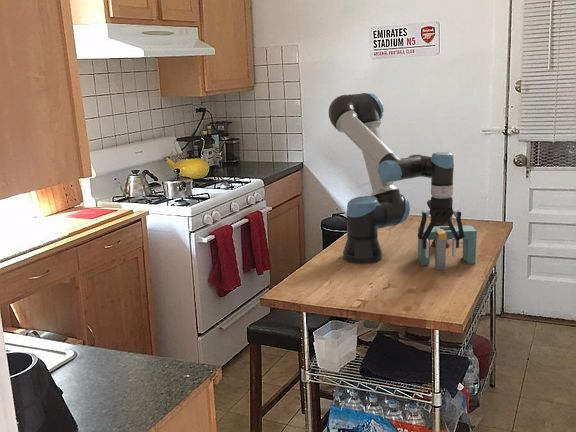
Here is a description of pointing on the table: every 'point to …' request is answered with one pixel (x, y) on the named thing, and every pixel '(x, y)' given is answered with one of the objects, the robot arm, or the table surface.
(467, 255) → the teal slotted arch
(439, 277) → the table surface
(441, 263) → the golden orange block
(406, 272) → the table surface
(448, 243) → the mortar and pestle
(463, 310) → the table surface
